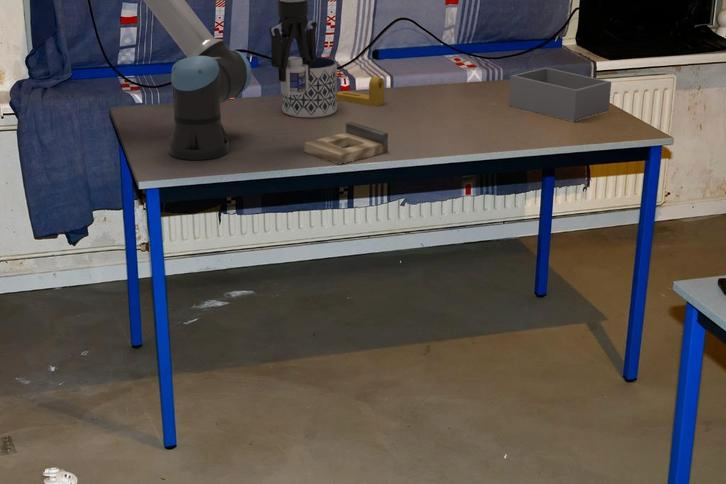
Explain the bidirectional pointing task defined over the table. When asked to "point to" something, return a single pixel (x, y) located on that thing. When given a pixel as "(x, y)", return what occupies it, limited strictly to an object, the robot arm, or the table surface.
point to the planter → (315, 92)
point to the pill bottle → (296, 76)
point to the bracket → (372, 99)
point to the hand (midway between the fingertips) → (294, 91)
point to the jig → (350, 144)
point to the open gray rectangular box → (559, 93)
